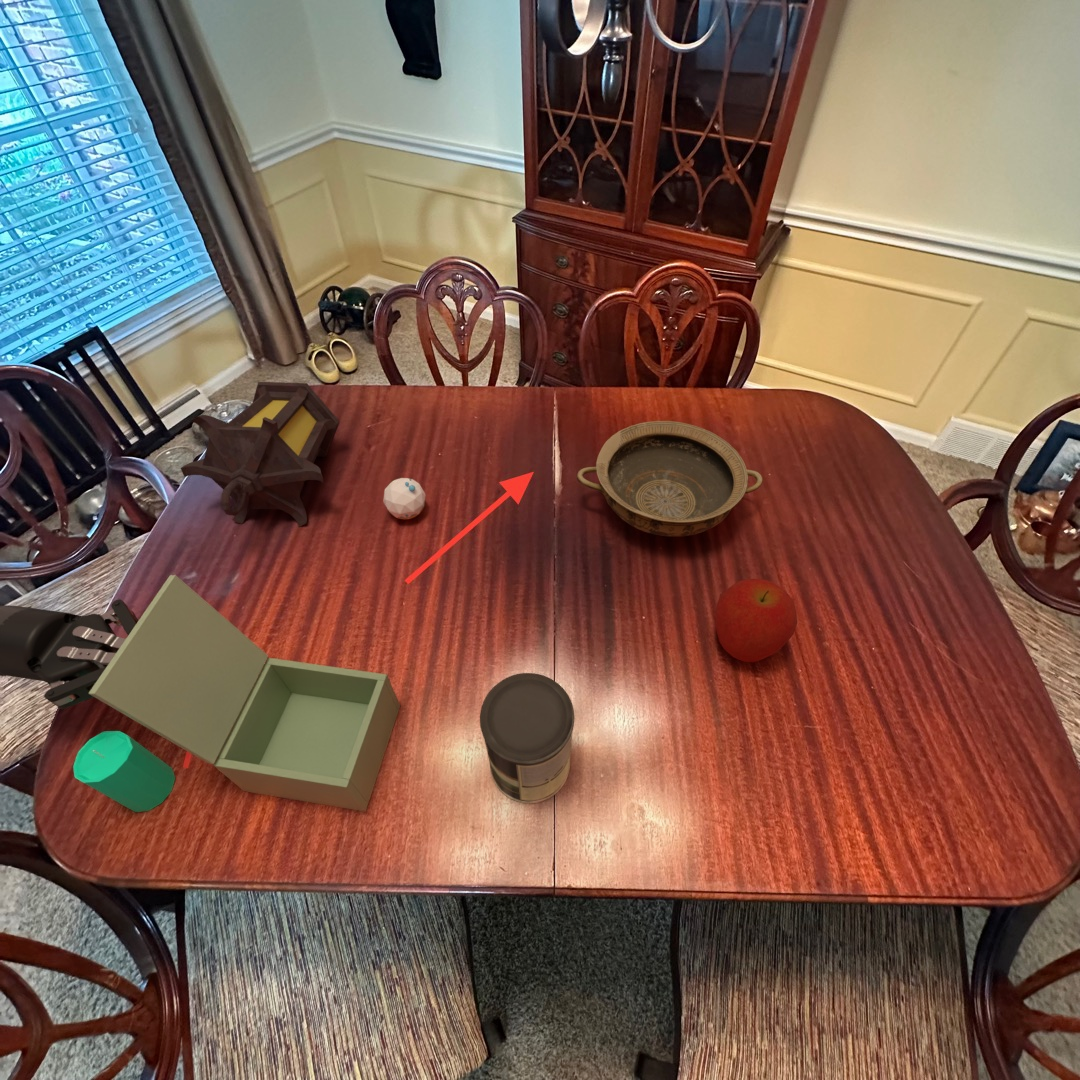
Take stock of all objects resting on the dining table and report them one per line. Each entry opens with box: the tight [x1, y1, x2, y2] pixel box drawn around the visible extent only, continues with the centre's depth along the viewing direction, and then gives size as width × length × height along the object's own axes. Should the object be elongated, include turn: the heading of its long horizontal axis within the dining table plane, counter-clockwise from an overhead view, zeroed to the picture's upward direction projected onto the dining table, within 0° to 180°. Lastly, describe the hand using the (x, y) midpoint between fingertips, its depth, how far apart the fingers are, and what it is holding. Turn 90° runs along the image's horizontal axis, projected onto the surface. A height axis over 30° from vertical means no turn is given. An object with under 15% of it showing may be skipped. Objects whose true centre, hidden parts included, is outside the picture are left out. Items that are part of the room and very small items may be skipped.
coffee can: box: [479, 672, 576, 804], centre depth 71 cm, size 10×10×14 cm
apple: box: [713, 578, 798, 663], centre depth 81 cm, size 10×10×14 cm
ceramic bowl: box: [576, 420, 764, 538], centre depth 100 cm, size 30×24×10 cm
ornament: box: [382, 477, 427, 520], centre depth 101 cm, size 7×7×8 cm
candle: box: [72, 730, 176, 813], centre depth 70 cm, size 6×6×12 cm
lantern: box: [180, 381, 340, 528], centre depth 100 cm, size 21×23×30 cm
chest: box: [212, 657, 401, 813], centre depth 74 cm, size 16×14×9 cm
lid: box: [89, 574, 269, 765], centre depth 66 cm, size 17×14×1 cm
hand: (166, 662), depth 65 cm, fingers closed
